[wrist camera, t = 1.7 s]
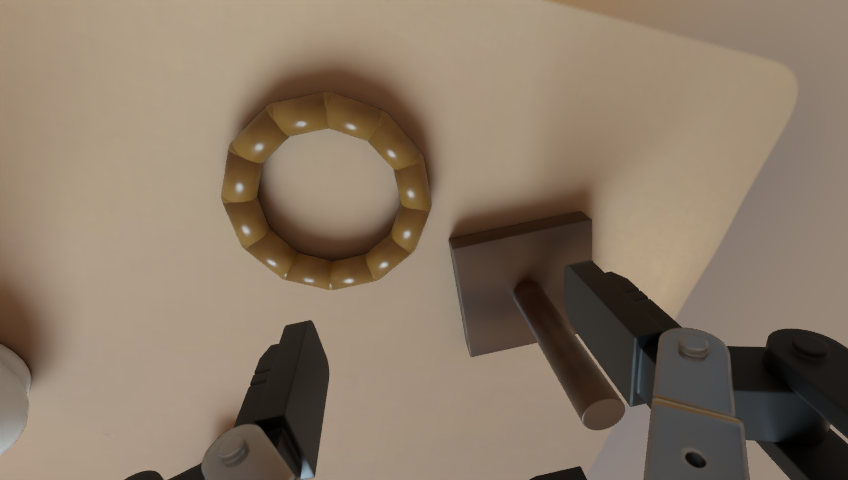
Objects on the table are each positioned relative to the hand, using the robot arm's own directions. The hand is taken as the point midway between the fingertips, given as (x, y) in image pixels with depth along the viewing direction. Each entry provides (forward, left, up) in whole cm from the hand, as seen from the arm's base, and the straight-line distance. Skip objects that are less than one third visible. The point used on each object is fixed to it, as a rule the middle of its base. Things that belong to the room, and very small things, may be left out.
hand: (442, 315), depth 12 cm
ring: (-1, -5, -12) cm, 13 cm away
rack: (+8, +6, -13) cm, 17 cm away
